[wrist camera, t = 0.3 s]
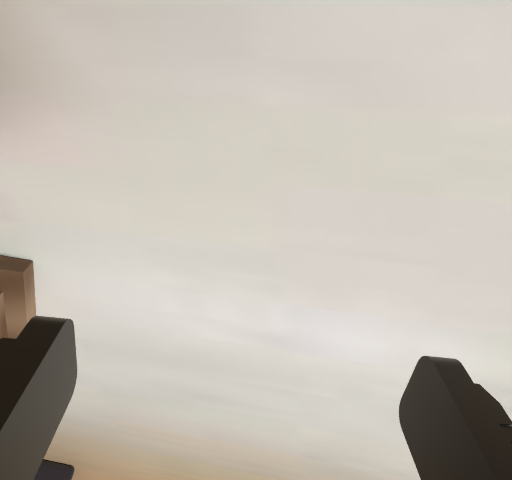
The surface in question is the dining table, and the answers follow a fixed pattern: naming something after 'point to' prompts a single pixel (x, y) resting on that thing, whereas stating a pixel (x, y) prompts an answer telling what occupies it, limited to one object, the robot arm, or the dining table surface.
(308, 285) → the dining table surface
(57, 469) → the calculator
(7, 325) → the wooden pedestal stand
